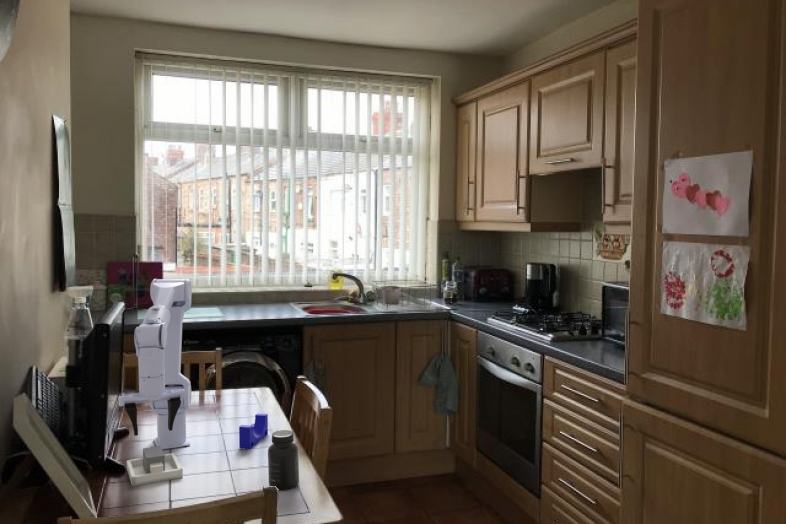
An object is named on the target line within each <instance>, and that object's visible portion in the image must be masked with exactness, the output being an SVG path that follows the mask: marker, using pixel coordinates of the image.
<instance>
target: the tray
mask: <svg viewBox="0 0 786 524" xmlns="http://www.w3.org/2000/svg"><path fill="white" fill-rule="evenodd" d="M164 455H165V471H163V472H157V473H149V474H146V473H145V470H144V467H143V457H138V458H133V459H127V460H126V471H127V474H128V476H129V477H128V478H129V480H130V481H129V482H130V483H131V487H137V486H142V485H148V484H154V483H159V482H165V481H170V480H177V479H183V478H184V477H183V476H184V474H183V472H184V471H183V467H182V465H181V464H180V462H179V459H178V458H177V456H176V453H175V452H170V453H164Z"/></svg>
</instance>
